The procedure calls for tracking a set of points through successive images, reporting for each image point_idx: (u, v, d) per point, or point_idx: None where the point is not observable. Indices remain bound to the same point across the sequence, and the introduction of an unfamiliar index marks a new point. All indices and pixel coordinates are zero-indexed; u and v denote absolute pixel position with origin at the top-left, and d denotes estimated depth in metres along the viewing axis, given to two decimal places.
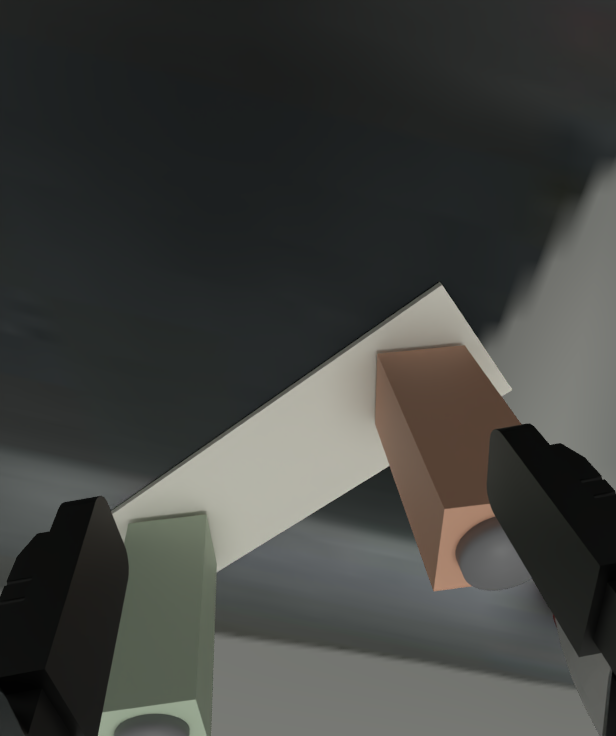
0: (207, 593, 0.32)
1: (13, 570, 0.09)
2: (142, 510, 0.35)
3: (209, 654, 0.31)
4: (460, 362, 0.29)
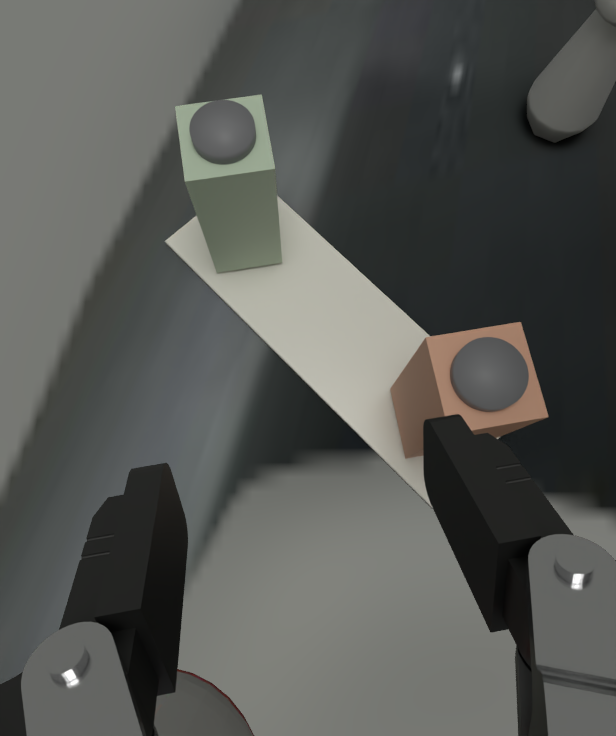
0: (253, 235, 0.37)
1: (90, 529, 0.10)
2: (281, 217, 0.43)
3: (223, 217, 0.34)
4: None
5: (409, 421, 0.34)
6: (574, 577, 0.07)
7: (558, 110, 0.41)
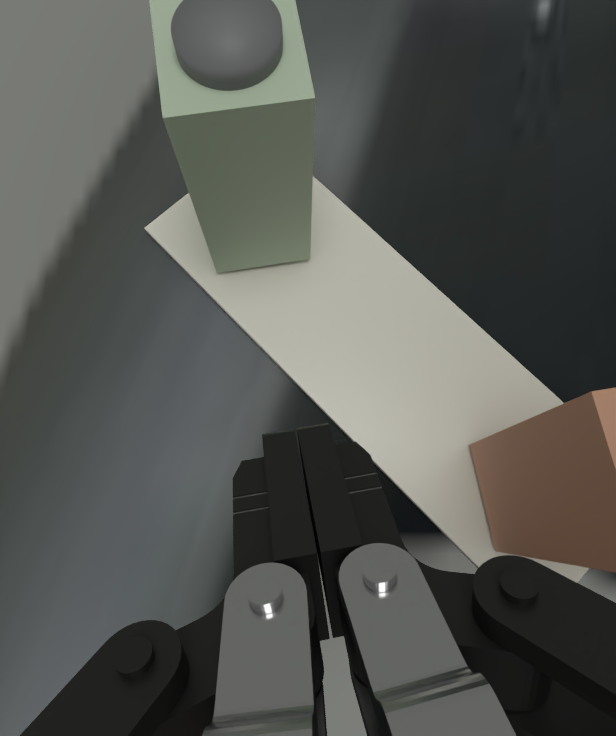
0: (272, 218, 0.24)
1: (235, 488, 0.11)
2: None
3: (226, 186, 0.22)
4: None
5: (514, 506, 0.22)
6: (383, 586, 0.08)
7: None
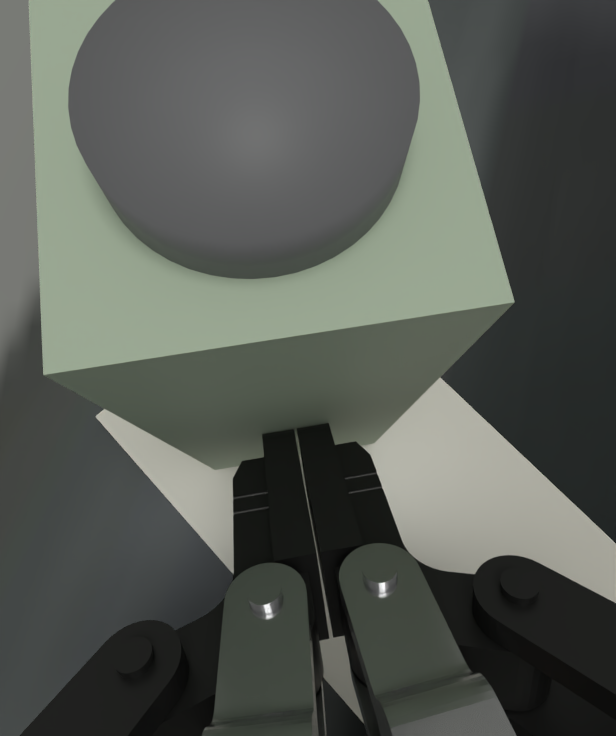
0: None
1: (235, 488, 0.11)
2: None
3: (236, 420, 0.10)
4: None
5: None
6: (383, 586, 0.08)
7: None
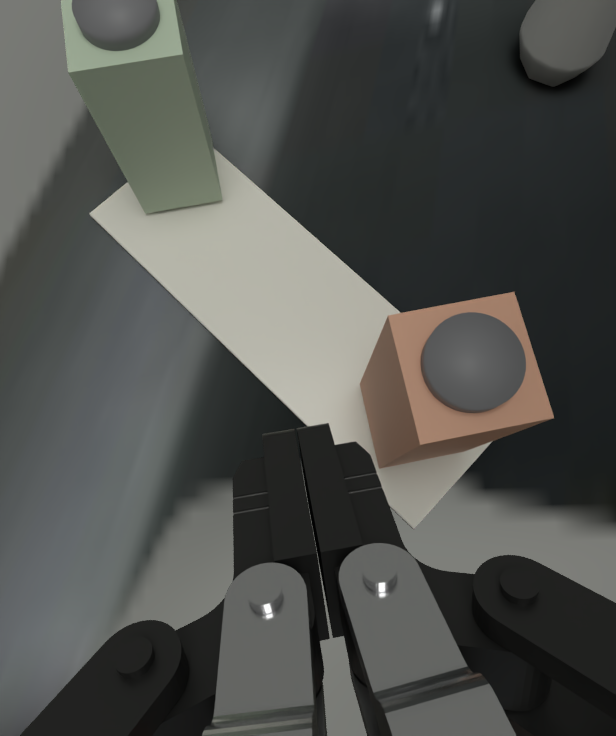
0: (178, 160, 0.30)
1: (235, 489, 0.11)
2: (229, 182, 0.36)
3: (133, 131, 0.28)
4: None
5: (379, 424, 0.27)
6: (383, 586, 0.08)
7: (557, 43, 0.34)
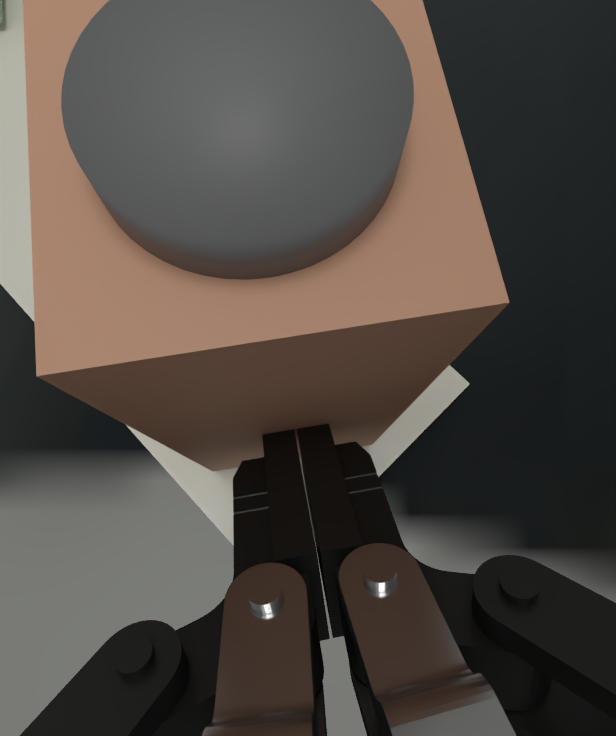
0: None
1: (234, 489, 0.11)
2: (22, 0, 0.22)
3: None
4: None
5: None
6: (383, 586, 0.08)
7: None
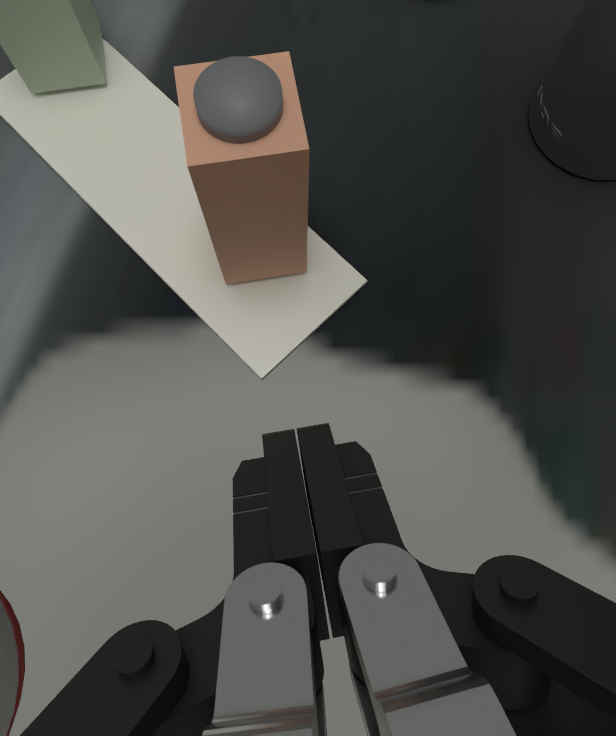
0: (49, 28, 0.32)
1: (234, 489, 0.11)
2: (115, 69, 0.38)
3: None
4: None
5: None
6: (383, 586, 0.08)
7: None
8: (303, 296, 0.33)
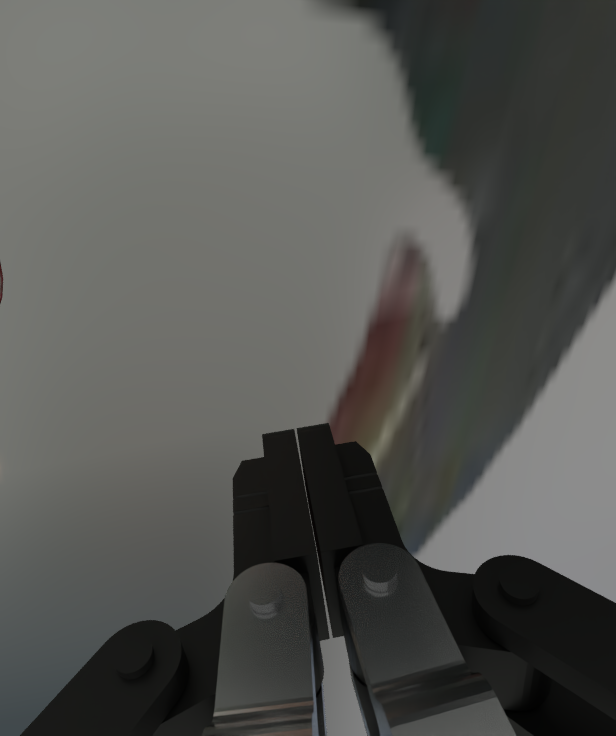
0: None
1: (234, 489, 0.11)
2: None
3: None
4: None
5: None
6: (382, 586, 0.08)
7: None
8: None
